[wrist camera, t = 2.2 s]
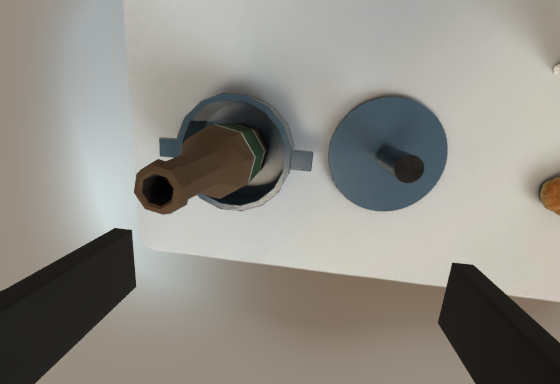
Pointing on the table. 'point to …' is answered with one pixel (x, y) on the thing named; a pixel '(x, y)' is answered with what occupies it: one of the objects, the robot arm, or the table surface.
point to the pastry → (551, 195)
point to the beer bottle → (203, 167)
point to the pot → (273, 132)
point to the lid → (387, 154)
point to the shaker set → (556, 68)
